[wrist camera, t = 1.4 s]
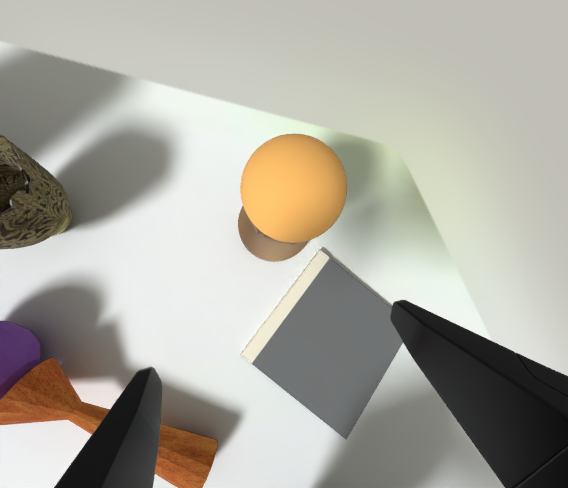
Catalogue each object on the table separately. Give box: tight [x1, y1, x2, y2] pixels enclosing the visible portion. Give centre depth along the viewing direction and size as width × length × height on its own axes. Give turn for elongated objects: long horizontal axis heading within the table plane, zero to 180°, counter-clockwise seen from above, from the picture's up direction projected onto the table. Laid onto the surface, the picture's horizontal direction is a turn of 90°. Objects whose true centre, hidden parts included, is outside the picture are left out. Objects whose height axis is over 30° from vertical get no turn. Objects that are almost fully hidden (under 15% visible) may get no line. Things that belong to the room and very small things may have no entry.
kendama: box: [0, 321, 217, 488], centre depth 17 cm, size 6×6×20 cm
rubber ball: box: [241, 134, 347, 243], centre depth 15 cm, size 6×6×6 cm
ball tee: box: [238, 206, 308, 262], centre depth 20 cm, size 7×7×6 cm
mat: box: [241, 250, 403, 439], centre depth 22 cm, size 12×12×1 cm
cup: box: [0, 135, 72, 249], centre depth 17 cm, size 8×7×8 cm
